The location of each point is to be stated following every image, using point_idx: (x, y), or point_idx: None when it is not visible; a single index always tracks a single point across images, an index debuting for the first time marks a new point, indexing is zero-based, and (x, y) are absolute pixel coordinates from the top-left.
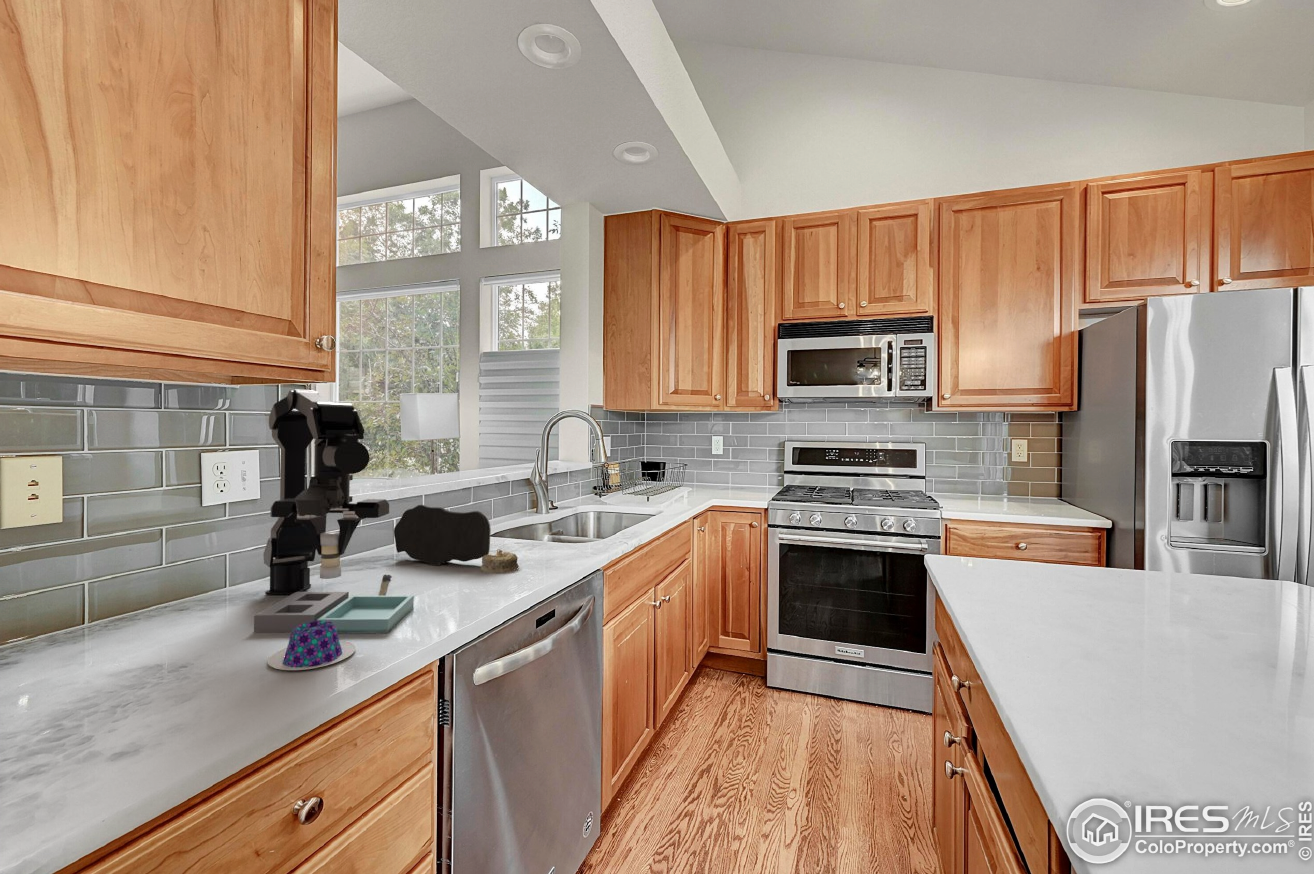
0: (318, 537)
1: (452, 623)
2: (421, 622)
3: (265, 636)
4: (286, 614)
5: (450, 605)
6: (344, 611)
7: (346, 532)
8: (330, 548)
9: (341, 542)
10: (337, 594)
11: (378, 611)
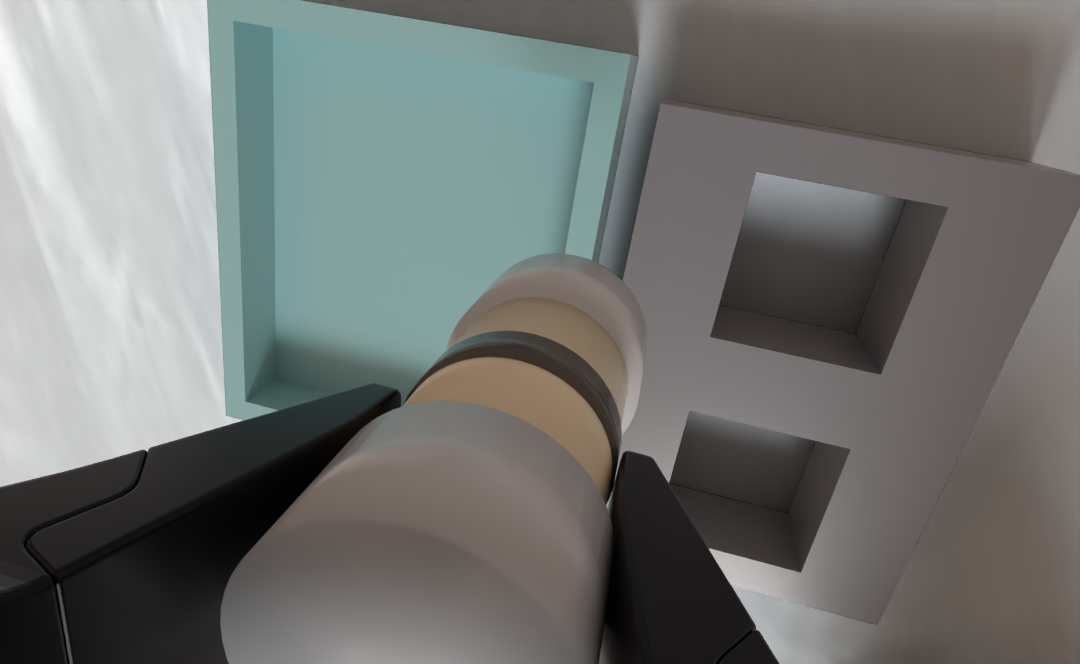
0: (626, 613)
1: (14, 98)
2: (158, 146)
3: (942, 64)
4: (853, 151)
5: (118, 376)
6: None
7: (5, 490)
8: (448, 395)
9: (262, 437)
10: None
11: (391, 327)
